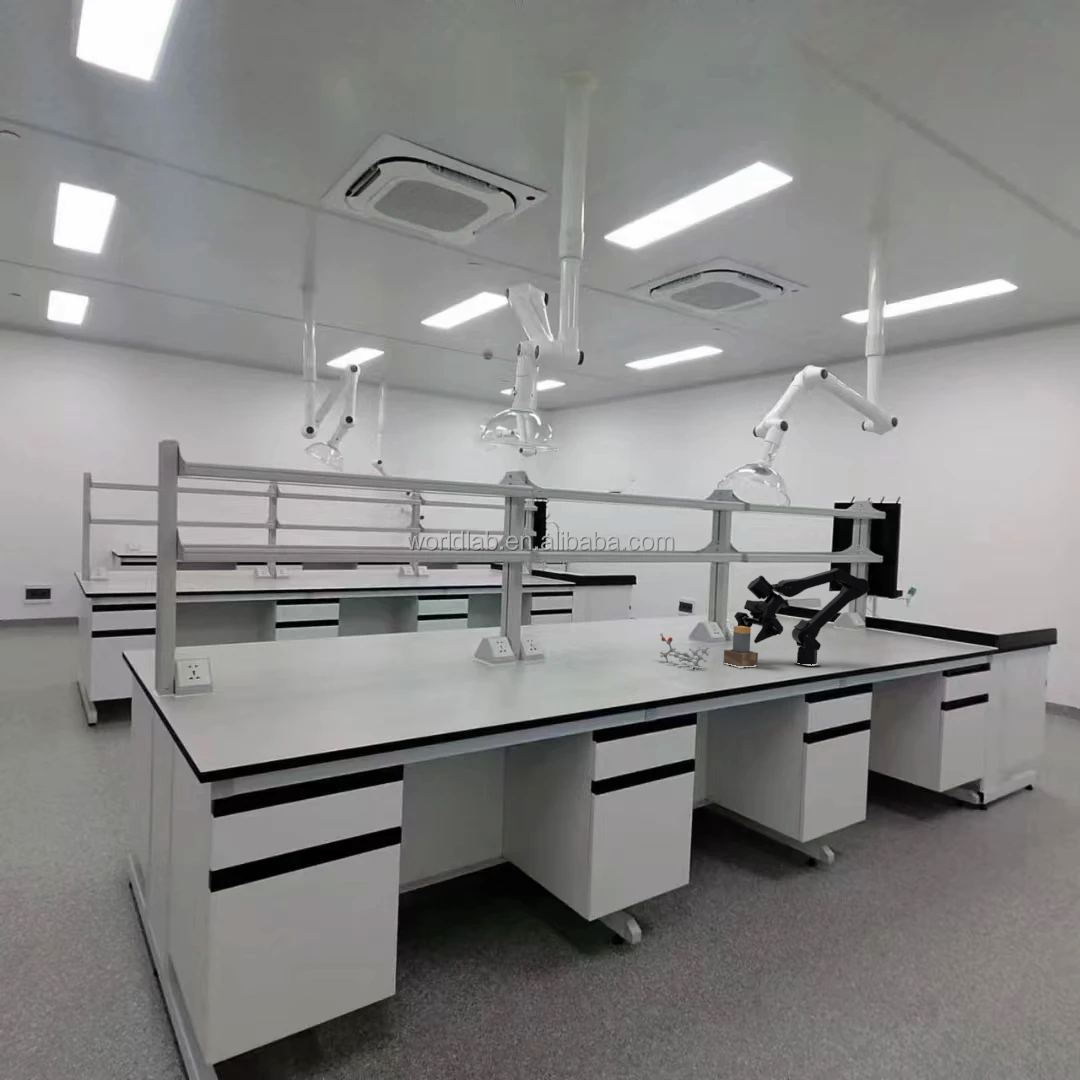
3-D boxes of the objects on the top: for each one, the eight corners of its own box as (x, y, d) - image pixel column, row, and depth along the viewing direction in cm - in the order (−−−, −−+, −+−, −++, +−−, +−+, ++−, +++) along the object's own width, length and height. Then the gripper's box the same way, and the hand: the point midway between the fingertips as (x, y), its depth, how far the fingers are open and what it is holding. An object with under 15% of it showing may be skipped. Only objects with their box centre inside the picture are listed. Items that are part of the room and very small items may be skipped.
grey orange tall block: (740, 662, 241) (742, 625, 241) (748, 664, 237) (750, 627, 237) (732, 663, 239) (733, 626, 239) (740, 665, 236) (742, 627, 235)
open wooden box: (740, 662, 244) (741, 648, 244) (757, 667, 237) (757, 653, 237) (723, 664, 240) (724, 649, 240) (739, 668, 233) (740, 654, 233)
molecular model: (715, 670, 229) (716, 641, 228) (692, 675, 224) (693, 645, 223) (675, 657, 246) (676, 630, 245) (654, 661, 240) (654, 633, 239)
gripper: (739, 589, 249) (714, 620, 244) (778, 595, 233) (753, 628, 228) (754, 610, 253) (730, 641, 248) (794, 617, 236) (769, 650, 231)
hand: (745, 640), depth 239 cm, fingers open, 9 cm apart
